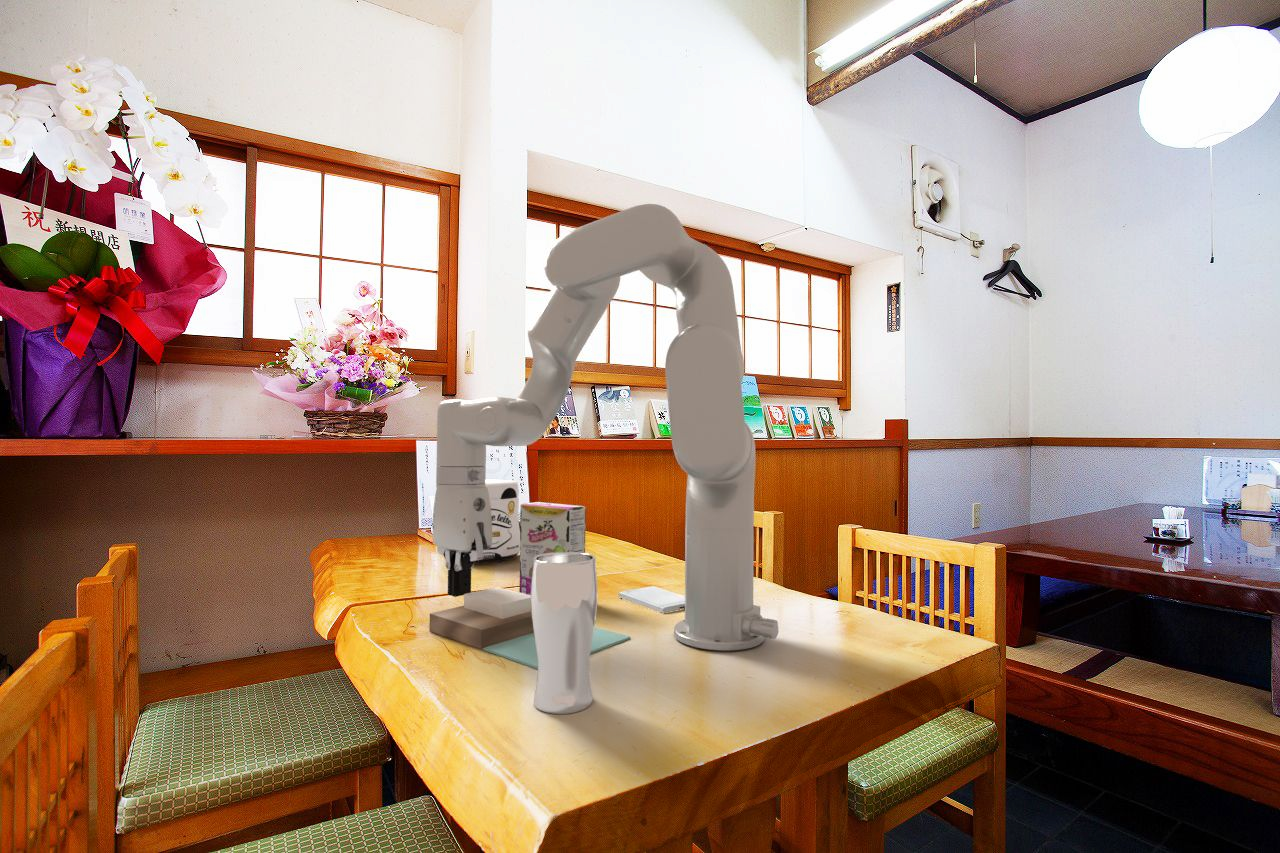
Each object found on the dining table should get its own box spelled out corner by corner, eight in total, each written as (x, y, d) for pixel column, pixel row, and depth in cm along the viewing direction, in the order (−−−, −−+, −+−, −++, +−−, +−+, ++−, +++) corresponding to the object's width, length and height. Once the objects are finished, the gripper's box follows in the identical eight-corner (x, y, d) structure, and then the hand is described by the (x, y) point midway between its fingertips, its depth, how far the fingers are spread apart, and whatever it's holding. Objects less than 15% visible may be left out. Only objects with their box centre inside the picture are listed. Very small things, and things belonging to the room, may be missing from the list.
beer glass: (532, 689, 67) (534, 551, 68) (596, 687, 68) (597, 551, 68) (526, 717, 60) (528, 563, 61) (597, 715, 61) (598, 563, 61)
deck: (569, 622, 93) (569, 605, 93) (481, 649, 80) (481, 629, 80) (517, 608, 100) (517, 593, 100) (429, 631, 88) (429, 613, 88)
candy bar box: (517, 598, 107) (518, 503, 107) (536, 592, 111) (537, 501, 112) (567, 607, 101) (568, 507, 101) (586, 601, 105) (587, 505, 106)
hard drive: (618, 591, 108) (663, 606, 98) (655, 585, 113) (701, 599, 103) (618, 601, 108) (663, 617, 98) (654, 594, 113) (701, 609, 103)
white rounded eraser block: (535, 610, 90) (535, 596, 90) (502, 618, 85) (502, 604, 85) (496, 599, 96) (496, 586, 96) (463, 607, 91) (463, 594, 91)
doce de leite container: (481, 570, 130) (482, 485, 131) (428, 561, 140) (429, 481, 140) (537, 558, 145) (538, 481, 145) (485, 550, 154) (486, 478, 155)
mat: (630, 638, 85) (630, 636, 85) (543, 671, 73) (543, 668, 73) (571, 622, 92) (571, 620, 92) (483, 650, 80) (483, 647, 80)
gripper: (510, 478, 96) (508, 597, 95) (454, 475, 105) (452, 583, 105) (469, 480, 90) (467, 607, 89) (413, 476, 99) (411, 591, 99)
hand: (459, 594), depth 97 cm, fingers closed
